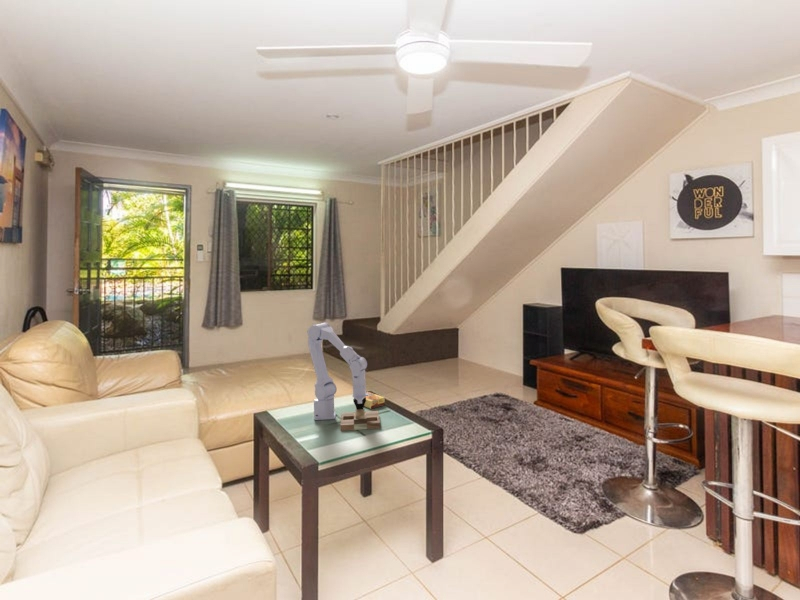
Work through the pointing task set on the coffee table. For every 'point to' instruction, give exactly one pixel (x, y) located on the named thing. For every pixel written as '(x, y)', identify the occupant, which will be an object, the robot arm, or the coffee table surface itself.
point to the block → (360, 413)
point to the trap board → (360, 421)
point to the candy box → (374, 400)
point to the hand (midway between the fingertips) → (360, 414)
